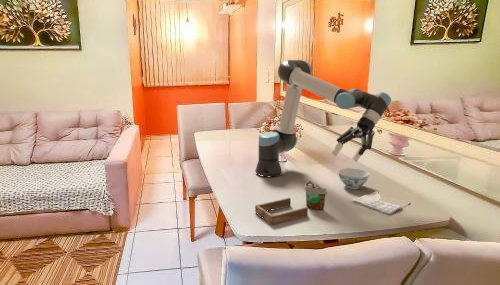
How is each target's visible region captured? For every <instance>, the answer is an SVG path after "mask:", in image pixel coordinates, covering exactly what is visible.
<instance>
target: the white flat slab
mask: <svg viewBox="0 0 500 285" xmlns="http://www.w3.org/2000/svg"><path fill="white" fill-rule="evenodd" d="M378 192H379V191H377V190H376V191H374V192H371V193H369V194H364V195H362V196H359V197H357V198H354V199H352V200H351V202H352V203H354V204H357V205H360V206H362V207H365V208H369V209H371V210H374V211H376V212H379V213H382V214H384V215H387V216H389V215H392V214H393V213H394V212H397V211H399V210H402V209H401V208H402V206H400V205H395V204H391V203H387V202H384V201H381V200H379V199H380V198H381V197H380V195H379V194H378ZM398 209H399V210H398ZM396 210H397V211H396Z"/></svg>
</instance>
